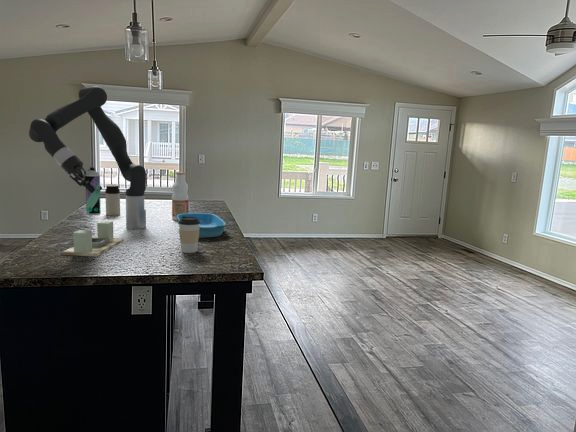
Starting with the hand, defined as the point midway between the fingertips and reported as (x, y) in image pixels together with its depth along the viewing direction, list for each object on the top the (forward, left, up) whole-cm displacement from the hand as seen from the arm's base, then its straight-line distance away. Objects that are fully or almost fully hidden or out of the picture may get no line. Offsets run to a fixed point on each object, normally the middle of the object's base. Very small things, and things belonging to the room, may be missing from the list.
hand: (97, 190), depth 180 cm
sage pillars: (+1, -1, -24) cm, 24 cm away
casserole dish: (-53, -10, -25) cm, 60 cm away
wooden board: (+1, -1, -25) cm, 25 cm away
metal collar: (+1, -1, -24) cm, 24 cm away
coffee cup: (-32, +22, -25) cm, 46 cm away
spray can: (+1, -1, -10) cm, 11 cm away
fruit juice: (-57, -44, -25) cm, 76 cm away
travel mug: (-27, -73, -25) cm, 82 cm away
